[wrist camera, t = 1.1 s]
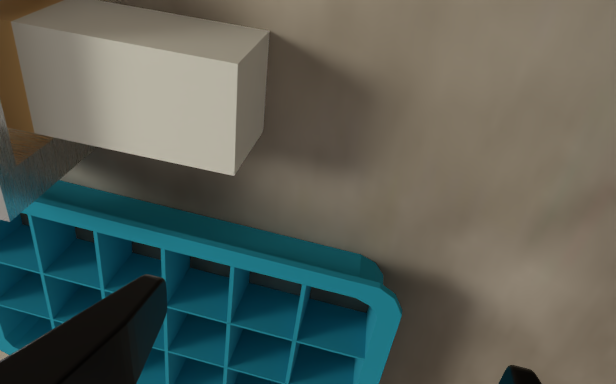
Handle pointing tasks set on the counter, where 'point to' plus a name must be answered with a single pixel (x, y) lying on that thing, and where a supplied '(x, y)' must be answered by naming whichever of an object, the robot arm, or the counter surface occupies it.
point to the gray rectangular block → (32, 166)
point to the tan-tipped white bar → (134, 80)
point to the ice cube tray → (196, 291)
